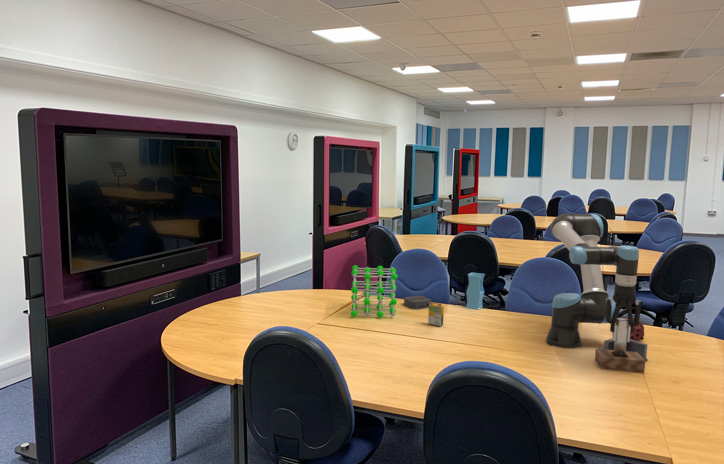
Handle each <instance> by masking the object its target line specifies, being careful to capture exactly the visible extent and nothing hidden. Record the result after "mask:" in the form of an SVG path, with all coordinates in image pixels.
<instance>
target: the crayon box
mask: <svg viewBox="0 0 724 464" xmlns="http://www.w3.org/2000/svg"><path fill="white" fill-rule="evenodd" d="M444 310H445V309H444V305H442V303H438V302H432V301H431V302H429V308H428V316H427V317H428V319H427V323H428V325H434V326H439V327H442V326H443V325H444V312H445V311H444Z"/></svg>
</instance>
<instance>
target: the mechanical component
mask: <svg viewBox="0 0 724 464" xmlns="http://www.w3.org/2000/svg"><path fill="white" fill-rule="evenodd" d="M625 319H628V317H626V318H625ZM633 321H634V317H633ZM628 325H629V321H628ZM644 336H645V325H644V324H643V323H642V322H641V321H640V320H639V325H635V326H634V327H633V333H632V334H630V339H631V340H634V341H638V342H639V341H643V340H644V338H645V337H644Z"/></svg>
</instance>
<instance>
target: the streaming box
mask: <svg viewBox="0 0 724 464" xmlns="http://www.w3.org/2000/svg"><path fill="white" fill-rule="evenodd" d="M429 302H432V299H430V298H428V297H426V296H423V295H412V296H405V297H403V305H404V307H407V308H409V309H412V310H423V309H429Z"/></svg>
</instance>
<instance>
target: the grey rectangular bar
mask: <svg viewBox="0 0 724 464" xmlns="http://www.w3.org/2000/svg"><path fill="white" fill-rule="evenodd" d="M628 321H629V320H628V319H626V318H624V317H617V320H616V323H615V324H616V325H617V333H616V341H614V353H613V355H614V356H615V357H625V355H626V344H627V332H628Z"/></svg>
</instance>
